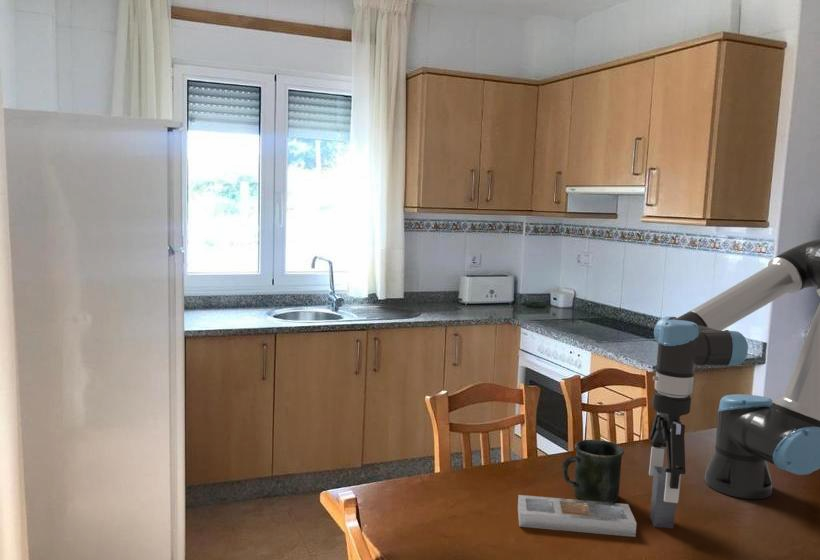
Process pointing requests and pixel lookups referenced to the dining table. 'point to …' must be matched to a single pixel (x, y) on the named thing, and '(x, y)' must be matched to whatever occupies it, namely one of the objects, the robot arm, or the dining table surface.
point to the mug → (595, 470)
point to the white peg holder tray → (576, 515)
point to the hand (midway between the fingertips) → (662, 488)
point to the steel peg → (661, 501)
